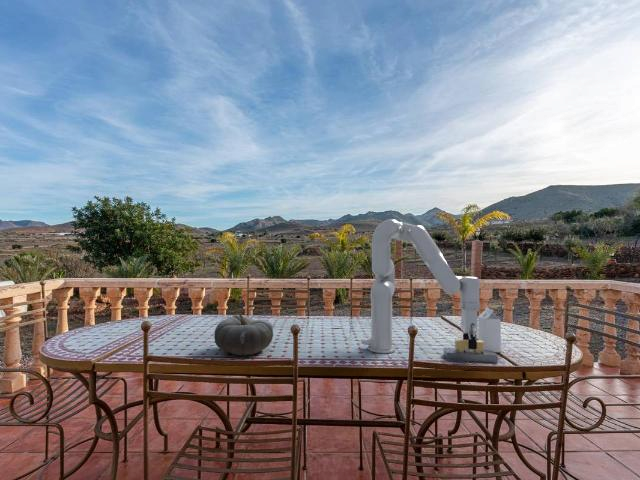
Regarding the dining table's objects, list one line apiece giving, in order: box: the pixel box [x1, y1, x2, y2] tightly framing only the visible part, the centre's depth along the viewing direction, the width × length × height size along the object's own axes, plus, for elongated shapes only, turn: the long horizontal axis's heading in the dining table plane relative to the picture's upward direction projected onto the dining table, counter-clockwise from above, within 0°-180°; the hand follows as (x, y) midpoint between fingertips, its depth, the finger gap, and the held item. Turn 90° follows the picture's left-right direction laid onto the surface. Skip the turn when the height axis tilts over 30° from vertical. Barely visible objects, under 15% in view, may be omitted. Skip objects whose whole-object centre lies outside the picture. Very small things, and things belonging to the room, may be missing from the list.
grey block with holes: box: [443, 347, 499, 364], centre depth 156 cm, size 20×8×3 cm, turn 81°
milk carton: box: [477, 307, 502, 353], centre depth 169 cm, size 7×7×19 cm
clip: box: [454, 338, 484, 353], centre depth 156 cm, size 11×3×8 cm, turn 80°
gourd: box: [213, 312, 274, 357], centre depth 163 cm, size 25×25×17 cm
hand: (469, 345), depth 157 cm, fingers open, 9 cm apart
